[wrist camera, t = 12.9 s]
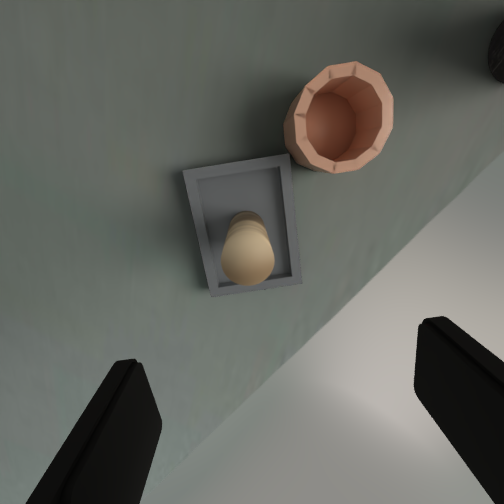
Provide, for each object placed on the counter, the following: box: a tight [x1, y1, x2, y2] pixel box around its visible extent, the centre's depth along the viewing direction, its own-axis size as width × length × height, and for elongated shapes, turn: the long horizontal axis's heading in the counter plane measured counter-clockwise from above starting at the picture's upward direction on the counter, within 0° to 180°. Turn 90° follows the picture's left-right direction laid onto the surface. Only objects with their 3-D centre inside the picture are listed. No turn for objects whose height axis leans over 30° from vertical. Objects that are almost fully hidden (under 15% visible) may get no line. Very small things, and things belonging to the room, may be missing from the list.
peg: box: [221, 211, 275, 286], centre depth 28 cm, size 4×4×12 cm
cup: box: [283, 61, 393, 174], centre depth 28 cm, size 9×9×7 cm
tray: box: [182, 153, 302, 297], centre depth 33 cm, size 16×12×2 cm
